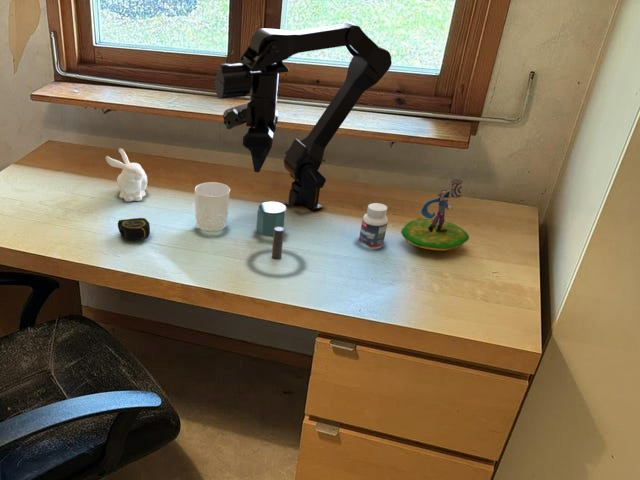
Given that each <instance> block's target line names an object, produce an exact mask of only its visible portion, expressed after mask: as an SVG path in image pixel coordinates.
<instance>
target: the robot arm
mask: <svg viewBox="0 0 640 480" xmlns="http://www.w3.org/2000/svg"><path fill="white" fill-rule="evenodd" d="M341 47H344V48H345V49H346V51H347V52H348V53H349V55H351V57H352V58H351V60H350V62H349V64H348V68H347V73H346V78H345V80H344V81H343V83H342V84H341V86H340V87H339V89H338V90H337V92H336V93H335V95H334V96H333V98H332V99H331V101H330V103H329V104H328V106H327V107H326V108H325V110H324V111H323V113H322V114H321V116H320V117H319V118H318V121H316V123H315V125H314V127H312V129H311V131H310V132H309V133H308V135H307V136H306V137H305V138H303V139H301V140H299V139H297V138H294V140H293V141H292V142H291V145H290V147H289V148H288V149H287V150H286V151H284V154H285V156H284V158H283V167H284V169H285V170H286V171H287V172H288V173H289V176H290V178H292V179H293V181H291V185H290V186H291V187H290V189H289V192H288V193H289V194H288V201H285V206H289V205H292V206H294V207H303V208H305V209H307V210H308V211H310V212H314V211H317V210H321V209H322V208H323V206H322V205H321V204H319V200H320V199H319V198H320V193H321V189H323V188H324V187H325V183H326V182H327V179H326V178H325V176H324V175H323V174H322V173H321V172H320V171H319V169H320V167H321V166H322V163H323V159H324V154H325V150H326V148H327V146H328V145H329V143H330V142H331V140H332V139H333V137H334V136H335V134H336V133H337V132H338V130H339V128H341V126H342V124H343V123H344V122H345V120H346V118H347V117H348V116H349V115H350V113H351V111H352V110H353V108H354V107H355V105H356V104H357V102H358V101H359V100H360V98H361V97H362V95H363V94H364V93H365V92H366V91H368V90H369V89H370V88H372V87H373V86H375V85H377V84H378V83H379V82H380V81H381V80H382V79H383V77H384V76H385V75H386V74H387V73H388V72H389V70H390V69H391V67H392V64H393V62H392V55H391V53H390V52H389V50H387V49H385V48H383V47H381V46H379V45H377V43H376V42H374V41H373V39H371V38H370V37H369V36H368V35H367V34H366V33H365V32H364V31H363V30H362V27H360V26H359V25H357V24H355V23H352V22H351V21H350V22H349V21H346V22H343V23H339V24H334V25H333V24H332V25H326V26H319V27H312V28H306V29H305V28H304V29H298V30H284V29H278V28H259V29H257V30H255V32H254V33H253V34H252V36H251V39H250V41H249V45H248V46H247V48H246V49H245V51H244V52H243V53H242V55H241V56H240V58H239V59H238V62H236V63H227V62H226V63H219V66H218V71H217V72H216V76H215V78H214V86H215V88H214V89H215V93H216V97H217V98H218V99H219V100H225V99H235V98H244V97H245V98H246V96H247V95H249V98H248V101H247V103H243V104H239V105H236V106H233V107H229V108H227V109H225V110H224V111H223V114H222V118H223V124H224V125H225V127H226V129H227V130H232V129H233V128H235V127H238V126H241V125H244V124H245V126H246V127H248V128H247V129H246V130H245V131H244V133H243V136H242V146H243V147H244V148H245V149H247V150H248V151H249V152H250V155H251V160H252V167H253V171H254V173H260V171H261V170H262V168H263V166H264V163H265V162H266V160H267V157H268V156H269V153H270V151H271V149H272V147H273V143H274V133H275V131H276V129H277V126H278V122H279V111H278V110H277V104H278V87H279V76H280V74H281V73H288V72H290V69H289V67H287V65H285V63H284V61H285V60H288V59H289V58H291V57H293V56H294V55H296V54H300V53H301V54H302V53H306V52H314V51H320V50H327V49H334V48H341ZM255 59H256V60H255Z"/></svg>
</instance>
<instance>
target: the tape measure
mask: <svg viewBox="0 0 640 480" xmlns="http://www.w3.org/2000/svg"><path fill="white" fill-rule="evenodd" d="M117 229H118V232H119V234H120V236H121V238H122V239H123V240H125V241H127V242H128V241H129V242H138V241H144V240H146V239H147V238H148V237H149V236H150V233H151V226H150V221H148V219H147V218H144V217H135V218H126V219H119V220H118V221H117Z"/></svg>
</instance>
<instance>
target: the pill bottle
mask: <svg viewBox="0 0 640 480" xmlns="http://www.w3.org/2000/svg"><path fill="white" fill-rule="evenodd" d="M387 213H388V206H387V205H386V204H383V203H379V202H372V203H369V204H368V205H367V210H366V213H365V214H364V215H363V216H362V220H361V226H360V230H359V236H358V241H359V242H361V244H364V245H365V246H368V247H369V248H371V249H372V250H378V249H381V248H382V247H383V245H384V242H385V238H386V233H387V228H388V223H389V218H388V216H387Z"/></svg>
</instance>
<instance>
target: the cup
mask: <svg viewBox="0 0 640 480" xmlns="http://www.w3.org/2000/svg"><path fill="white" fill-rule="evenodd" d="M287 211H288V209H287V205H286V204H284V203H282V202H278V201H265V202H262V203H260V204H259V205H258V209H257V215H256V229H255V231H256V232H257V233H258V234H259V235H261V236H262V237H264V236H265V237H270V238H271V237H272V238H273V236H274V228H275V227H282V228H284V231H286V222H287V221H286V220H287Z"/></svg>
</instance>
